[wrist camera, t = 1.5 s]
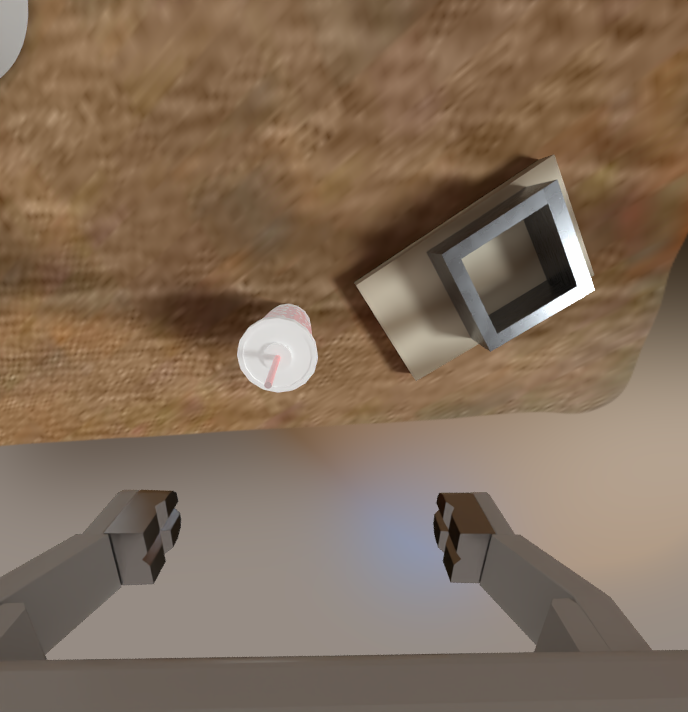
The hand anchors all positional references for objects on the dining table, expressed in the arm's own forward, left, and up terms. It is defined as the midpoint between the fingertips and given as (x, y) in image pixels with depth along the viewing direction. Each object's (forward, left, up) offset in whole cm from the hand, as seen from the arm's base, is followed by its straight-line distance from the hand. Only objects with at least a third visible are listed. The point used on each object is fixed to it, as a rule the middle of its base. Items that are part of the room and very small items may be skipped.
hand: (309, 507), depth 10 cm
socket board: (+5, +15, -25) cm, 29 cm away
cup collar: (+5, +17, -23) cm, 29 cm away
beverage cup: (-1, -3, -25) cm, 25 cm away
